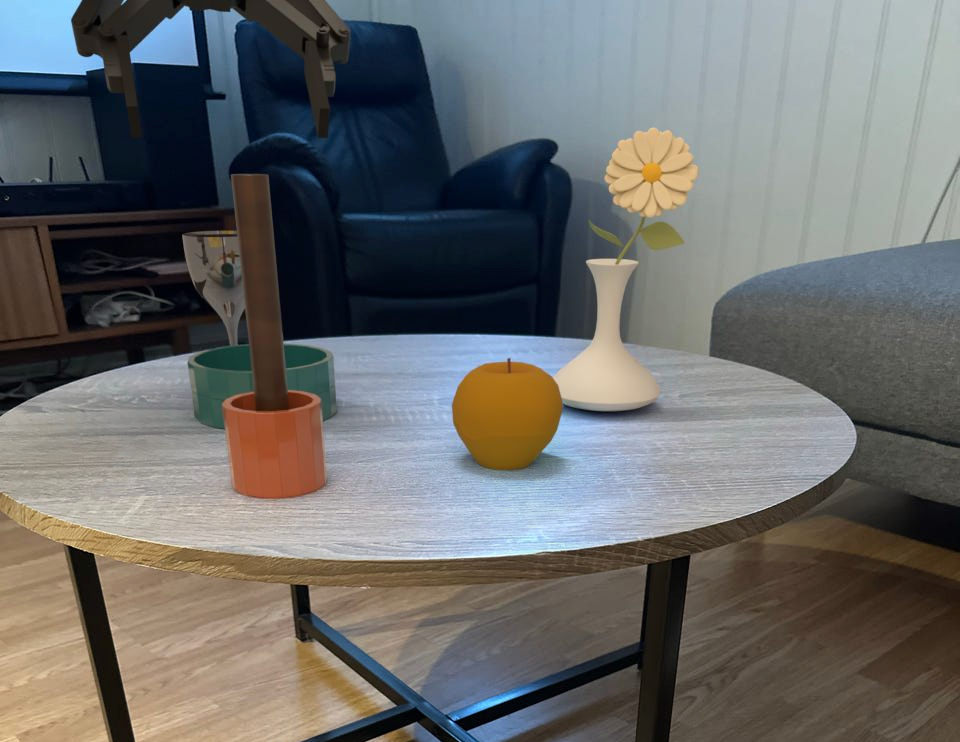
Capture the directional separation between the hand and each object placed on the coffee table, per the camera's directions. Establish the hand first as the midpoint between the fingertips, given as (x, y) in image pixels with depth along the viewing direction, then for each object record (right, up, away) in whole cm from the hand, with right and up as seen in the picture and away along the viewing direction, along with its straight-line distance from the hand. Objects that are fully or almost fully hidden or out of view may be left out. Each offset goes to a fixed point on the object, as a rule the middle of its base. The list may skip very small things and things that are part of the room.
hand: (231, 123), depth 69 cm
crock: (+3, -27, +3) cm, 27 cm away
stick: (+3, -26, +2) cm, 26 cm away
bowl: (-2, -17, +21) cm, 27 cm away
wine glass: (-9, -8, +38) cm, 40 cm away
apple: (+20, -24, +8) cm, 33 cm away
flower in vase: (+31, -14, +27) cm, 44 cm away
